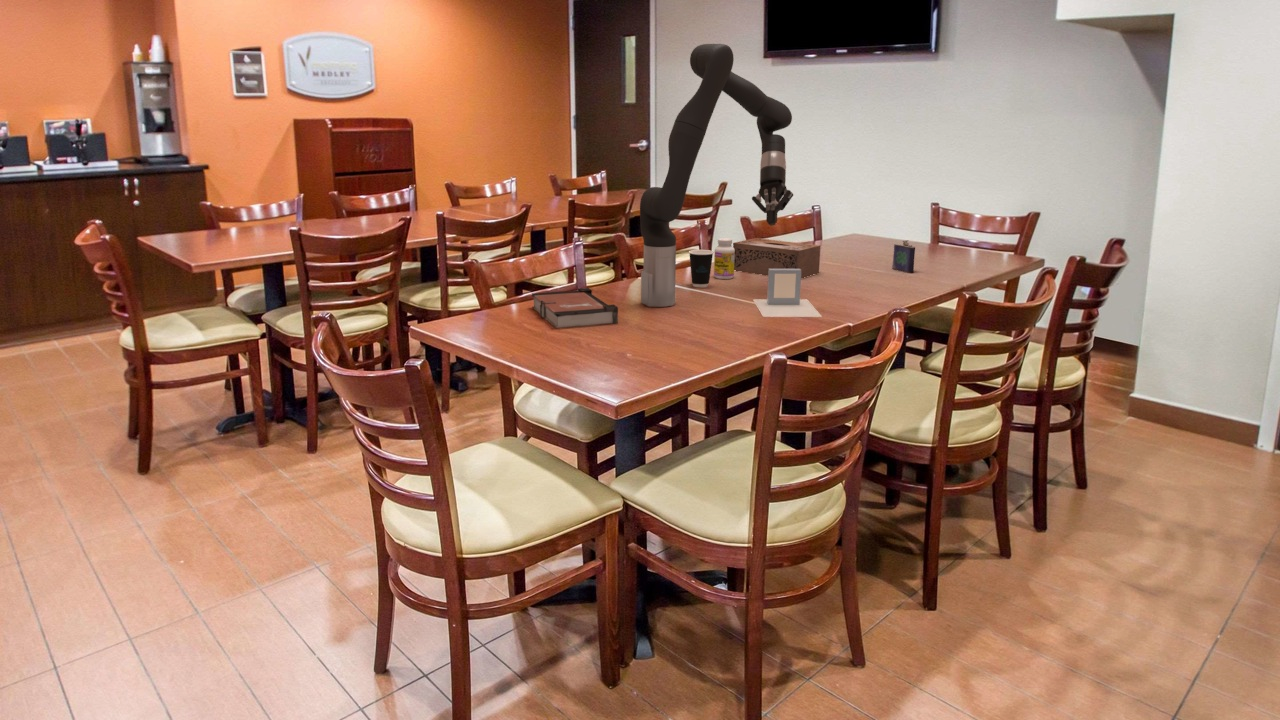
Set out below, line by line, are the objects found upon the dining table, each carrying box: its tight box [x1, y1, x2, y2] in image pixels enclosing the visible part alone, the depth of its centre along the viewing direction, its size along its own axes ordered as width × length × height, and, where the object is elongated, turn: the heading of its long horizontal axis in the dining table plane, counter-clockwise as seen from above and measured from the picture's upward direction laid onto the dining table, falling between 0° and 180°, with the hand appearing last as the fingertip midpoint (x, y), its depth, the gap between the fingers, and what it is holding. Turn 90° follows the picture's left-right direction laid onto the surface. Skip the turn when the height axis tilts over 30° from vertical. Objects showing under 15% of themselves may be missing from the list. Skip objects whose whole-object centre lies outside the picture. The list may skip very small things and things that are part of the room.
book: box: [531, 287, 619, 330], centre depth 244 cm, size 26×18×5 cm
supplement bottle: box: [713, 237, 735, 280], centre depth 296 cm, size 7×7×13 cm
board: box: [752, 298, 823, 318], centre depth 252 cm, size 22×16×1 cm
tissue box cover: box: [732, 237, 821, 279], centre depth 306 cm, size 26×14×10 cm, turn 50°
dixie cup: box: [688, 249, 715, 288], centre depth 283 cm, size 8×8×11 cm
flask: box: [891, 240, 916, 274], centre depth 308 cm, size 9×3×11 cm, turn 28°
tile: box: [766, 269, 802, 305], centre depth 255 cm, size 2×9×10 cm, turn 90°
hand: (771, 224), depth 263 cm, fingers closed
